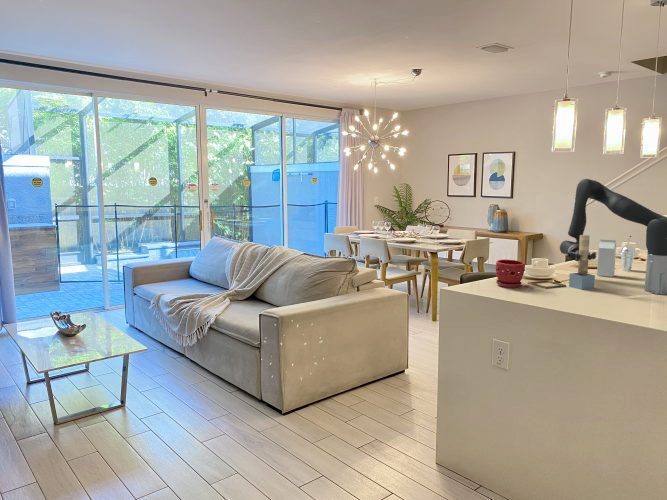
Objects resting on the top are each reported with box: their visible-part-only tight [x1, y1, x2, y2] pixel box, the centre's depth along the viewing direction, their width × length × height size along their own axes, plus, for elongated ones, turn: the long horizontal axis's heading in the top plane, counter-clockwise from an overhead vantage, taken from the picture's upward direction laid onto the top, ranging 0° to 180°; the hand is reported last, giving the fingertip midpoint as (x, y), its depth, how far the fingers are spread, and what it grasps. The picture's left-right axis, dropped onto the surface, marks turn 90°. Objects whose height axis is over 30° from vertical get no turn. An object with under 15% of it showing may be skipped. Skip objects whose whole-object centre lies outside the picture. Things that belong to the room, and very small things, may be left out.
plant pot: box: [495, 259, 526, 289], centre depth 237 cm, size 13×13×12 cm
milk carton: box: [596, 239, 617, 278], centre depth 260 cm, size 7×7×19 cm
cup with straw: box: [618, 235, 637, 272], centre depth 274 cm, size 8×9×20 cm
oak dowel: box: [577, 234, 591, 276], centre depth 228 cm, size 4×4×22 cm
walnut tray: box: [527, 279, 567, 290], centre depth 235 cm, size 12×12×2 cm
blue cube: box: [568, 272, 596, 291], centre depth 229 cm, size 7×7×7 cm
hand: (584, 257), depth 225 cm, fingers closed on oak dowel, 4 cm apart
